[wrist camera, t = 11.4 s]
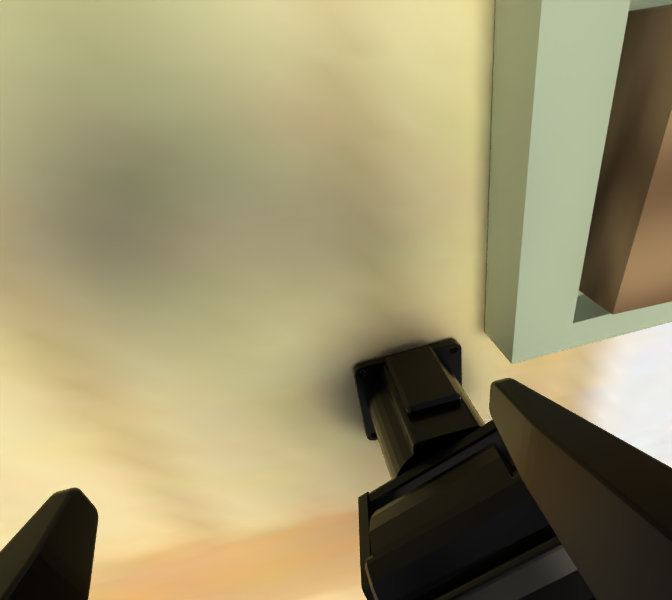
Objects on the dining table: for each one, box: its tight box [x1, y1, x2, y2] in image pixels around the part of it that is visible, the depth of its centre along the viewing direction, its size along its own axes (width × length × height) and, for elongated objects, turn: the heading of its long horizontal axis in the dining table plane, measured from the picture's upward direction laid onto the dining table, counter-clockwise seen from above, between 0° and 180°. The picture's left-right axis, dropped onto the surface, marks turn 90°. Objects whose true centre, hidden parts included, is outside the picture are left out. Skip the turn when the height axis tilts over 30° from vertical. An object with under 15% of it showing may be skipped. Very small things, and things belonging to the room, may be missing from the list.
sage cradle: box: [485, 0, 672, 364], centre depth 19 cm, size 18×12×3 cm, turn 10°
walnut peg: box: [579, 4, 672, 315], centre depth 18 cm, size 12×4×4 cm, turn 7°
